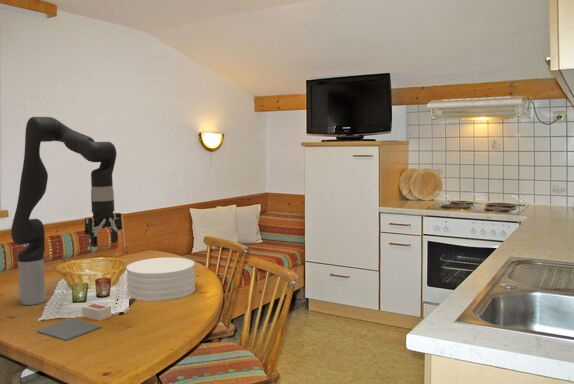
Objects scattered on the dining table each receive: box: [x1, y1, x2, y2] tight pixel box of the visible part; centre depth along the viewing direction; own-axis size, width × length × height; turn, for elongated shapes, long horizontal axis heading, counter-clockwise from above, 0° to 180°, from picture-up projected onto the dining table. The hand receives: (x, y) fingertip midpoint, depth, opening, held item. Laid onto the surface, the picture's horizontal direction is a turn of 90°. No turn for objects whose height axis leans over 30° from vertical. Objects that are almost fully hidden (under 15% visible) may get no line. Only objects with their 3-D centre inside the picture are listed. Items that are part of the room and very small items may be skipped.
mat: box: [35, 318, 103, 342], centre depth 183 cm, size 16×14×1 cm
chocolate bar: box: [112, 298, 136, 316], centre depth 207 cm, size 9×1×18 cm
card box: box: [81, 302, 113, 322], centre depth 197 cm, size 9×6×4 cm, turn 59°
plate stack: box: [126, 257, 196, 302], centre depth 228 cm, size 28×28×12 cm
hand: (104, 244), depth 190 cm, fingers open, 8 cm apart
